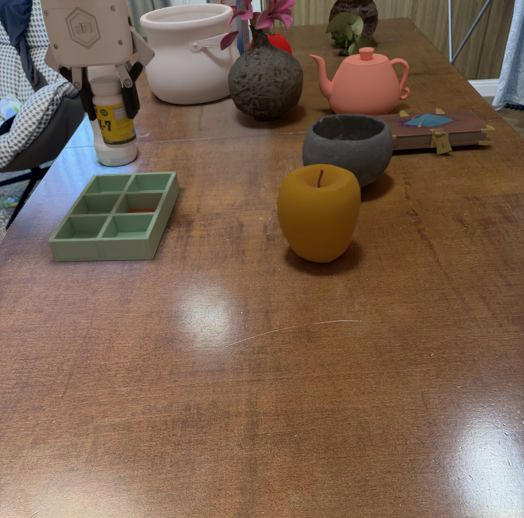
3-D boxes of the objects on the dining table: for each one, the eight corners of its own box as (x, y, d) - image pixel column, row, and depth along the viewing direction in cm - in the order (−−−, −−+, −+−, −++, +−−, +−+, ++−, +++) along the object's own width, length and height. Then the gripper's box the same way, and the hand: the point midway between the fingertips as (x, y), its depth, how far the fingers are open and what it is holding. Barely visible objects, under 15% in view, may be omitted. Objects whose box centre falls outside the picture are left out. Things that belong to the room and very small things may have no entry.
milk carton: (213, 61, 152) (203, -20, 138) (220, 56, 156) (211, -24, 142) (244, 62, 149) (237, -21, 135) (251, 56, 153) (245, -25, 140)
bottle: (126, 147, 107) (82, -27, 86) (145, 158, 102) (103, -24, 82) (91, 159, 104) (37, -19, 83) (110, 171, 99) (57, -16, 78)
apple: (275, 275, 70) (270, 188, 61) (285, 234, 77) (281, 151, 69) (355, 278, 68) (362, 189, 59) (357, 236, 76) (363, 151, 67)
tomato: (282, 82, 132) (280, 37, 125) (241, 78, 138) (238, 34, 131) (302, 70, 139) (301, 27, 132) (263, 66, 144) (260, 24, 137)
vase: (306, 128, 108) (304, -49, 88) (225, 134, 109) (205, -40, 88) (301, 102, 120) (299, -59, 100) (228, 107, 121) (211, -51, 100)
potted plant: (328, 44, 163) (320, 66, 137) (332, -13, 154) (324, -3, 127) (377, 46, 162) (378, 68, 135) (384, -12, 152) (387, -1, 125)
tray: (55, 261, 76) (47, 241, 74) (99, 192, 92) (93, 174, 90) (153, 259, 75) (147, 238, 72) (179, 190, 91) (176, 171, 88)
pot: (131, 95, 133) (113, 17, 121) (202, 72, 144) (192, -2, 132) (191, 116, 119) (177, 30, 107) (265, 88, 130) (260, 7, 118)
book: (347, 134, 107) (348, 108, 103) (466, 125, 106) (470, 100, 102) (359, 162, 94) (361, 134, 91) (493, 153, 93) (500, 124, 90)
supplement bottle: (98, 143, 73) (80, 80, 67) (125, 133, 75) (110, 71, 69) (116, 152, 70) (98, 87, 65) (144, 141, 73) (129, 77, 67)
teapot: (310, 126, 109) (310, 62, 100) (308, 102, 120) (308, 42, 111) (413, 121, 107) (422, 55, 98) (402, 97, 118) (409, 36, 110)
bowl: (284, 186, 89) (282, 128, 82) (343, 159, 96) (345, 103, 89) (346, 214, 81) (349, 152, 74) (406, 183, 87) (414, 123, 80)
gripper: (-13, -39, 56) (46, 129, 68) (135, -50, 54) (168, 124, 67) (15, -47, 61) (65, 110, 74) (151, -58, 60) (179, 104, 72)
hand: (114, 115), depth 70 cm, fingers closed on supplement bottle, 4 cm apart
